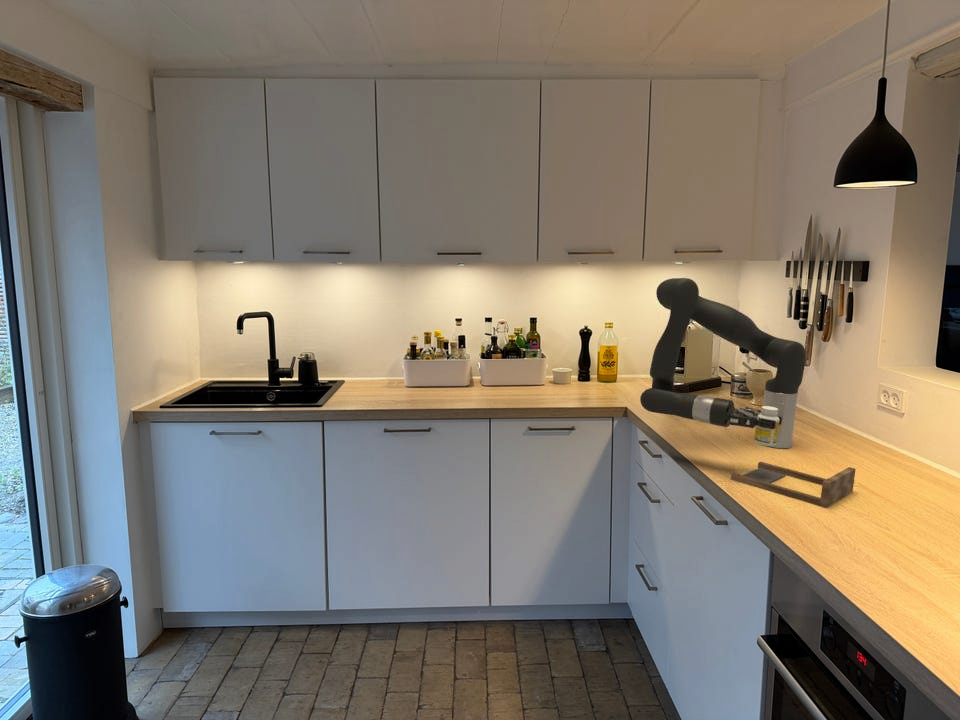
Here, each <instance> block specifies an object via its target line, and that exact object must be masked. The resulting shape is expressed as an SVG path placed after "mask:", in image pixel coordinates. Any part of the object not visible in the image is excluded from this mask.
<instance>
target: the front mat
mask: <svg viewBox="0 0 960 720" xmlns="http://www.w3.org/2000/svg"><path fill="white" fill-rule="evenodd" d="M742 475H743V476H746V477H750V478H753V479H757V480H760V481H764V482H767V483H771V484H773V483H775V482H776V481H779V480H781V479H783V478H785V477H787V475H785V474H781V473H777V472H774V471H770V470H766V469H763V468H758V467H757V468H755V469H753V470H751V471H749V472H747V473H745V474H742Z"/></svg>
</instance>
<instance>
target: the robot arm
mask: <svg viewBox="0 0 960 720" xmlns="http://www.w3.org/2000/svg"><path fill="white" fill-rule="evenodd" d="M655 292H656V293H655V295H656V299H657V301H658V302H659V304H660V306H662V307H663V308H665V309H666V310H669V311H670V313H669V318H668V321H667V324H666V326H665V329H664V331H663V333H662V335H661V336H660V337H659V340H658V342H657V343H656V345H655V348H654V351H653V354H652V359H651V364H650V367H649V376H650V377H651V380H652V381H651V387H649V388H647V389H645V390H644V391H643V392H642V393H641V394H640V400H639V401H640V404H641V405H640V406H642V408H643V409H644V410H645V411H648V412H650V413H655V414H661V415H662V414H663V415H669V416H671V415H672V416H676V417H680V418H683V419H688V420H692V421H697V422H700V423H703V424H709V425H713V426H718V427H724V428H728V427H729V426H737V427H744V428H749V429H755V428H756V427H763V428H769V429H775V428H776V421H774V420H769V419H764V418H759V417H758V415H759V414H762V412H761V409H758V408H752V407H749V406H746V407H739V408H736V407H735V403H734V401H733V400H731V399H726V398H722V397H721V398H720V397H714V396H708V395H699V394H692V393H687V392H674V389H675V383H674V380H675V377H674V376H675V374H676V369H677V364H678V360H679V356H680V352H681V347H682V343H683V342H684V338H685V335H686V332H687V330H688V326H689V324H690V321H691V320H692V321H694V323H695V322H696V324H698V325H700V326H702V327H703V328H704V329H706V330H708V331H709V332H711V333H713V334H715V335H716V336H718V337H720V338H722V339H723V340H725V341H726V342H729V343H730V344H733V345H734V346H738V348H739V347H740V348H741V349H742V348H743V349H744V350H746V351H748V352H750V353H752V354H753V355H755V356H756V357H758V358H759V360H761V361H763V362H764V363H765V364H767V365H768V366H771V367H773V368H775V369H776V373H775V376H774V377H773V378H772V379H767V380H766V381H765V385H764V386H765V387H764V395H763V402H762V403H763V404H762V406H770V407H775V408H777V409H778V414H777V415H776V416H778V417H779V420H780V421H779V428H778V435H777V442H776V445H774V446H768V447H770V448H776V449H791V448H792V447H793V446H792V445H793V437H794V429H795V420H796V411H797V403H798V400H797V399H798V393H799V388H800V386H801V385H802V381H803V379H804V378H803V377H804V373H805V372H804V371H805V366H806V360H807V359H806V357H807V353H806V352H807V351H806V348H805V346H804V345H803V344H802V343H801V342H799V341H795V340H791V339H784V338H780V337H776V336H774V335H772V334H770V333H767V332H765V331H763V330H761V329H760V328H759V327H758V326H757V325H756V323H755V322H754V320H752V319H751V318H750V317H749V316H748V315H747V314H745V313H743V312H741V311H739V310H738V309H735V308H734V307H731V306H729V305H727V304H724V303H721V302H718V301H714V300H711V299H708V298H705V297H702V295H701V296H700V290H699V287H698V284H697V283H696V281H695V280H693V279H691V278H689V277H677V278H675V277H674V278H669V279H665V280H663V281H662V282H660V284H659V285H658V286H657V288H656V291H655Z"/></svg>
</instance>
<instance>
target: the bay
mask: <svg viewBox="0 0 960 720" xmlns="http://www.w3.org/2000/svg"><path fill="white" fill-rule="evenodd" d="M758 468H763V469H766V470H770V471H774V472H777V473H781V474H785V475H786V477H787V476H788V477H792V478H795V479H799V480H802V481H805V482H809V483H814V484H817V485H821V493H820V497H819V496H815V495H812V494H809V493H805V492H803V491H802V492H801V491H797V490H794V489H791V488H787V487H784V486H782V485H778V484H773V483H767V482H764V481H760V480H757V479H753V478H750V477H746V476H743V475H744V474H739V473H736V472H733V473H731V474H730V480H732V481H734V482H735V481H736V482H739V483H742V484H746V485H749V486H751V487H752V486H753V487H755V488H760V489H762V490H766V491H769V492H772V493H775V494H780V495H783V496H786V497H789V498H792V499H797V500H800V501H802V502H807V503H810V504H813V505H816V506H820V507H823V508H828V507H830V506H831V505H833V504H834V503H836V502H838V501H840V500H841V499H843V498H845V497H846V496H847V495H848V496H849V494H851V493H853V491H854V484H855V476H856V471H857V469H856V468H855V467H847V468H845V469H843V470H841V471H839V472H838V473H835V474H833V475H832V476H830V477H828V478H823V477H819V476H816V475H814V474H813V475H812V474H809V473H806V472H803V471H802V472H801V471H798V470H794V469H790V468H787V467H783V466H778V465H776V464H772V463H767V462H764V461H759V462H758V463H757V469H758Z"/></svg>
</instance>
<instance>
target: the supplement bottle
mask: <svg viewBox="0 0 960 720" xmlns="http://www.w3.org/2000/svg"><path fill="white" fill-rule="evenodd" d="M760 410H761V412H762V414H759V415H758V417H759V418H764V419H769V420H774V421H776V428H775V429H769V428H763V427H755V431H754V442H755V443H756V444H758V445H761V446H766V447H769V446H774V445H776V442H777V435H778V428H779V421H780V420H779V417H778V416H776V415H777V414H778V409H777V408H775V407H770V406H763V405H762V406H761V408H760Z"/></svg>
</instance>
